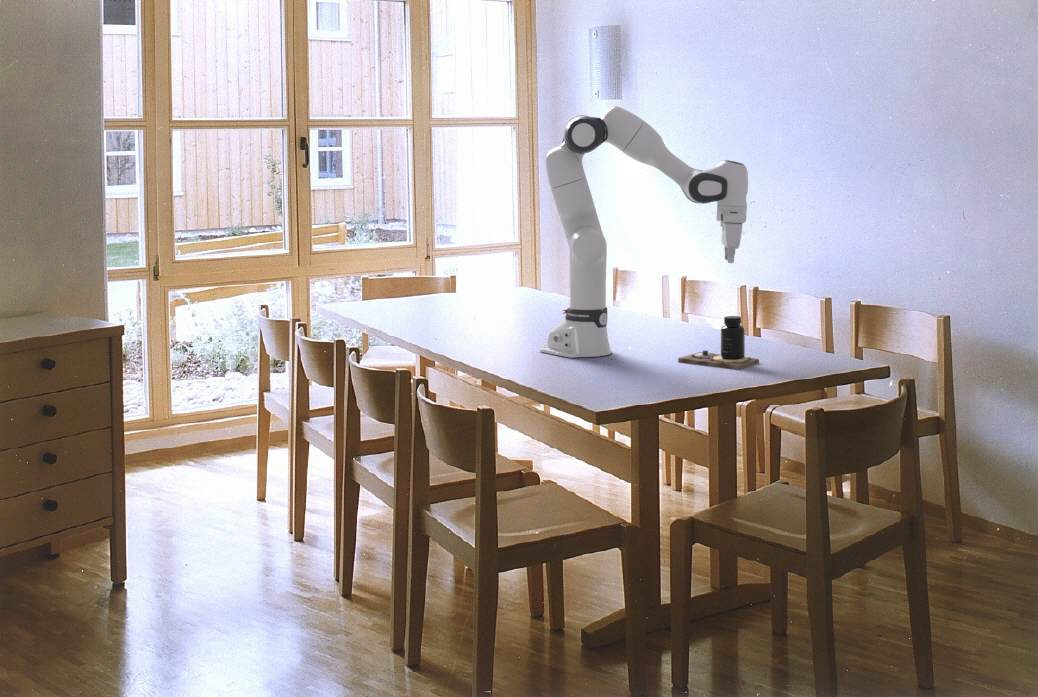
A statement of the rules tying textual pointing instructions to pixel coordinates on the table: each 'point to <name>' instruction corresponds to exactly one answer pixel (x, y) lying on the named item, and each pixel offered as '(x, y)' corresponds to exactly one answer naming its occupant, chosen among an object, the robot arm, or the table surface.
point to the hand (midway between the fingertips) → (729, 261)
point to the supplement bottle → (732, 339)
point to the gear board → (717, 360)
